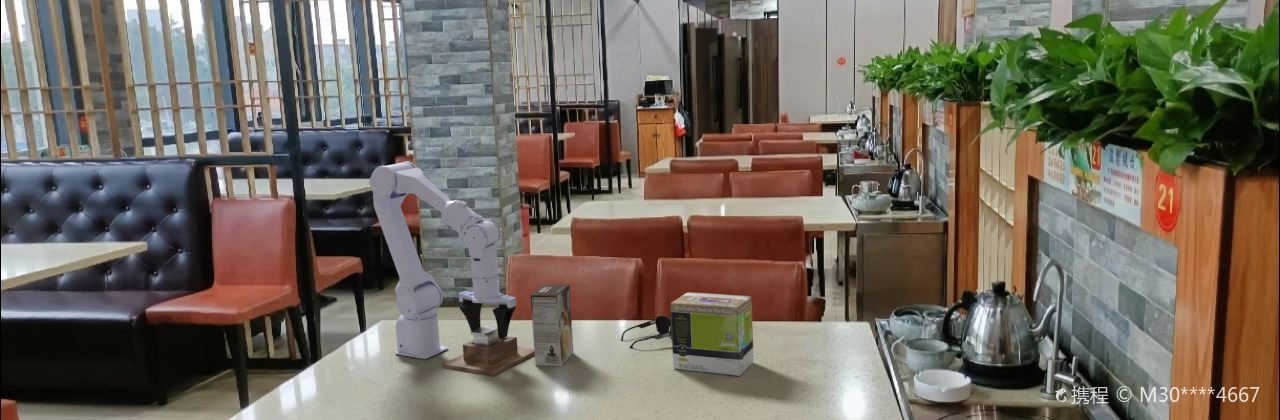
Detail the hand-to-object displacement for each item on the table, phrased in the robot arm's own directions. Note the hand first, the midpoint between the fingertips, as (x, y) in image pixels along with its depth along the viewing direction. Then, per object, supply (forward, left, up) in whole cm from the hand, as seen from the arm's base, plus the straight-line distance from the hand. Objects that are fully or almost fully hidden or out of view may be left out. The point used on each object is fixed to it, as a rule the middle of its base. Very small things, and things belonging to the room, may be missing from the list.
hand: (489, 335), depth 193 cm
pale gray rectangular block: (0, -1, -5) cm, 5 cm away
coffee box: (+13, +6, -6) cm, 15 cm away
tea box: (+47, +16, -6) cm, 50 cm away
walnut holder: (0, 0, -6) cm, 6 cm away
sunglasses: (+26, +26, -6) cm, 37 cm away
